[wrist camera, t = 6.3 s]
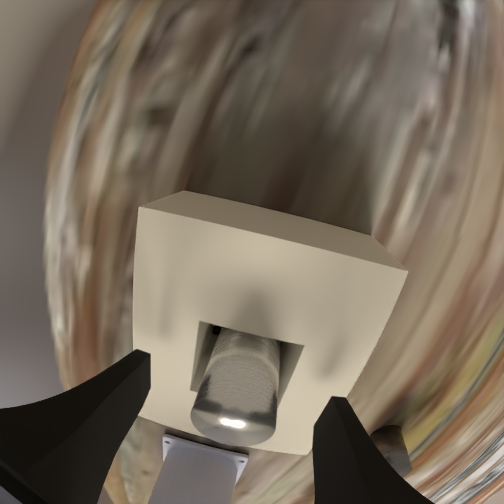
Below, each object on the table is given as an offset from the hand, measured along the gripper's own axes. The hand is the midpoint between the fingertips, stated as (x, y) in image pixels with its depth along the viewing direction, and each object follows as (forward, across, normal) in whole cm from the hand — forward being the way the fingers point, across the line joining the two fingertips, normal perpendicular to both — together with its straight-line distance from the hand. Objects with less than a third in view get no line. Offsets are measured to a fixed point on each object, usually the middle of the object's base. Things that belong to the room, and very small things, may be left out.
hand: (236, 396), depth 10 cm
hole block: (+6, 0, 0) cm, 6 cm away
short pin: (+6, -14, +10) cm, 18 cm away
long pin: (+6, 0, 0) cm, 7 cm away
